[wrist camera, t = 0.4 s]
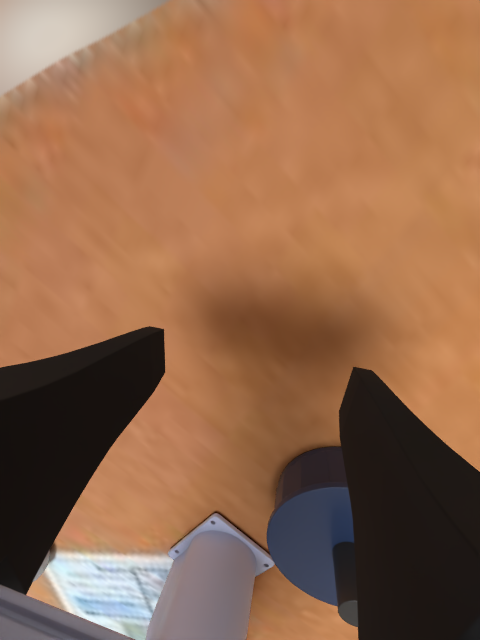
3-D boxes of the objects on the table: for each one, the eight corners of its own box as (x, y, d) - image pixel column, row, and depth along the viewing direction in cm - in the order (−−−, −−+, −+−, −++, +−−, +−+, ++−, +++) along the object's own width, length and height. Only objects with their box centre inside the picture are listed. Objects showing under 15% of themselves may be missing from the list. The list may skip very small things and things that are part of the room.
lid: (348, 613, 24) (358, 697, 19) (238, 525, 23) (224, 590, 19) (477, 554, 19) (528, 645, 15) (345, 445, 19) (358, 506, 15)
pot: (342, 563, 27) (349, 616, 23) (253, 491, 26) (245, 533, 23) (443, 508, 23) (471, 562, 19) (339, 422, 22) (346, 460, 19)
